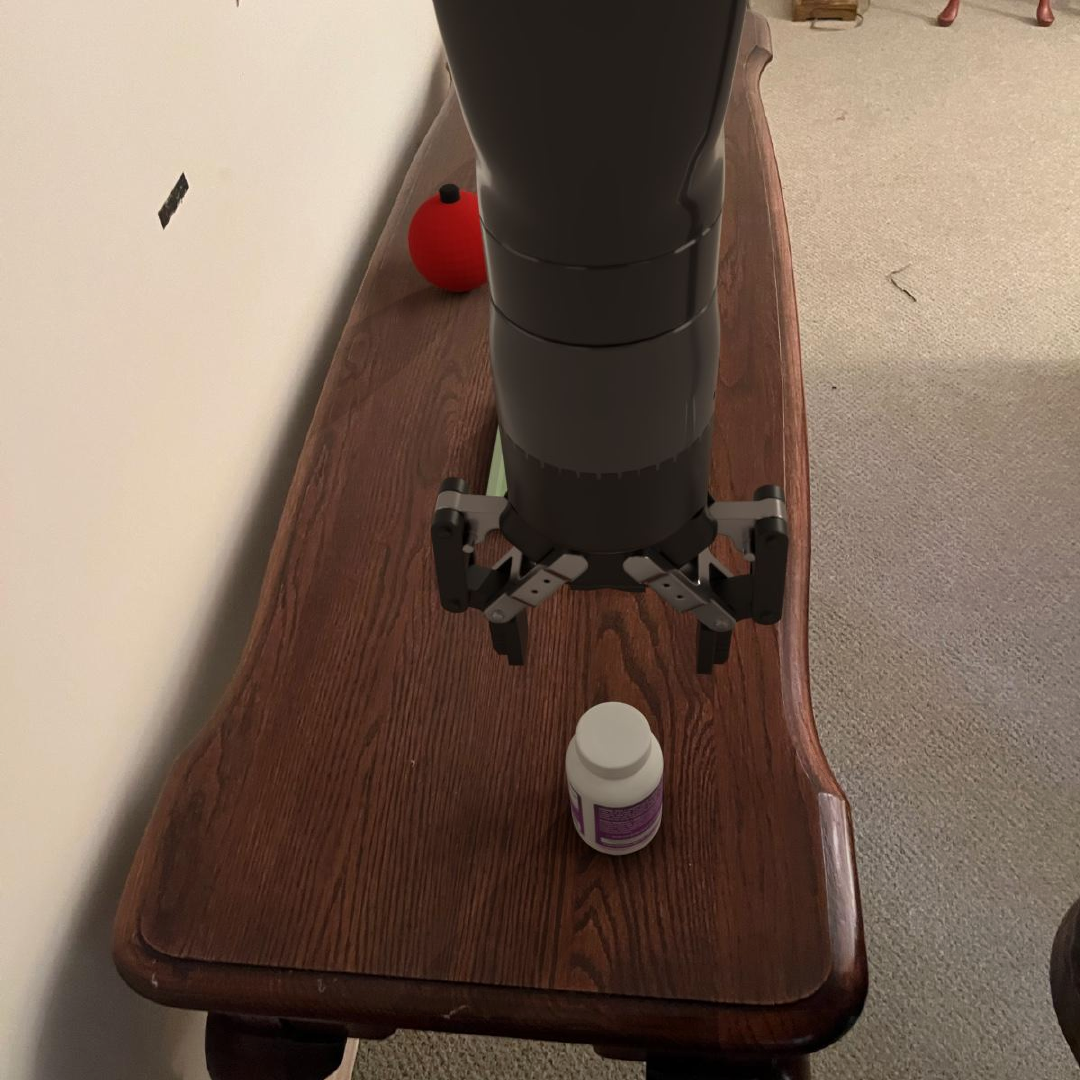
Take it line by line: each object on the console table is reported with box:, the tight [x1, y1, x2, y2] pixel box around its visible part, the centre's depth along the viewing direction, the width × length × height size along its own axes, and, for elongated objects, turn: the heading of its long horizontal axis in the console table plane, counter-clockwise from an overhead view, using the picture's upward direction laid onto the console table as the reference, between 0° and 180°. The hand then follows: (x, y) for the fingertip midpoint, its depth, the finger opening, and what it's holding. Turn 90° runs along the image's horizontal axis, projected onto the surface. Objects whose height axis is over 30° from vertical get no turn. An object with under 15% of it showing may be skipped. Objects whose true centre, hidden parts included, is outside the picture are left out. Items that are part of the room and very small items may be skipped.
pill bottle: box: [565, 701, 664, 856], centre depth 56 cm, size 5×5×10 cm
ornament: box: [407, 183, 488, 293], centre depth 91 cm, size 9×9×10 cm
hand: (611, 654), depth 46 cm, fingers open, 8 cm apart
